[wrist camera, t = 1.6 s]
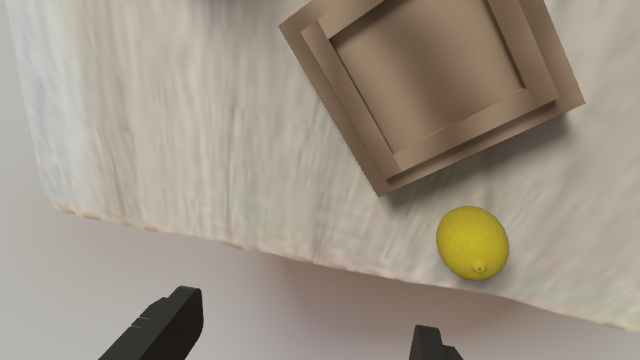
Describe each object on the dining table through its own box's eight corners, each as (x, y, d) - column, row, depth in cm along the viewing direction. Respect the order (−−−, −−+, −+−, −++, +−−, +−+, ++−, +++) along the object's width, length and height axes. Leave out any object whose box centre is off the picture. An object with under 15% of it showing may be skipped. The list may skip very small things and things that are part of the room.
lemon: (441, 187, 32) (451, 229, 25) (503, 199, 31) (533, 246, 24) (426, 237, 34) (432, 289, 27) (484, 250, 33) (507, 307, 26)
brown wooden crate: (475, -107, 24) (492, -142, 19) (561, 95, 27) (592, 105, 23) (293, 28, 30) (273, 25, 25) (381, 180, 33) (377, 202, 29)
